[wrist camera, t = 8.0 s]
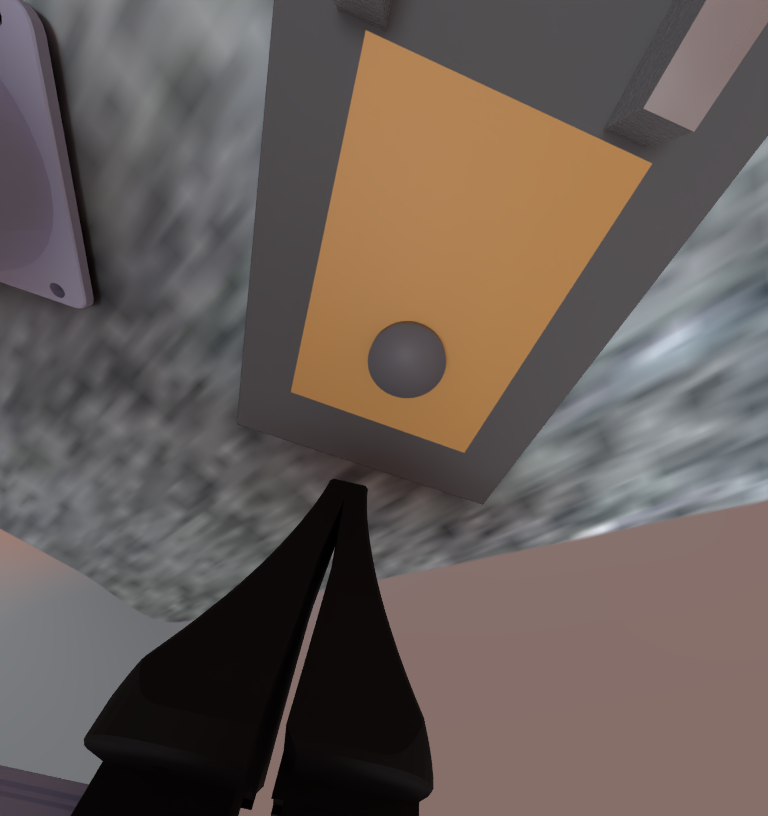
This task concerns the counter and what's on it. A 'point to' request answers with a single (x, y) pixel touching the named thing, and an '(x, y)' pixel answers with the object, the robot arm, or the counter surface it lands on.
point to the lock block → (447, 244)
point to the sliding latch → (661, 64)
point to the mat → (527, 83)
